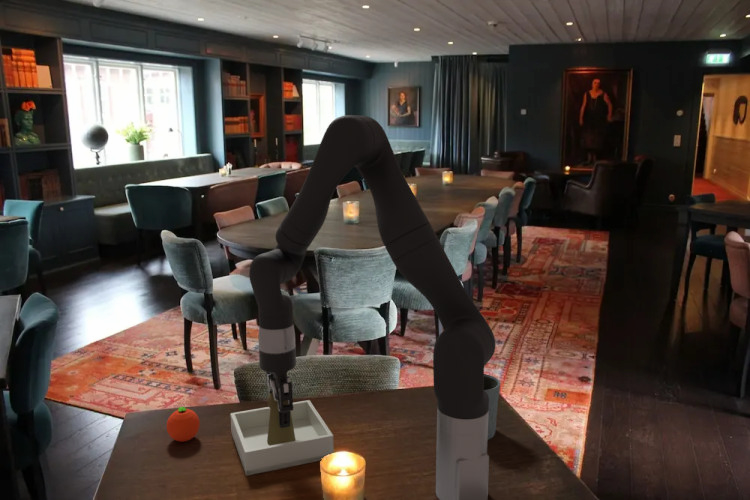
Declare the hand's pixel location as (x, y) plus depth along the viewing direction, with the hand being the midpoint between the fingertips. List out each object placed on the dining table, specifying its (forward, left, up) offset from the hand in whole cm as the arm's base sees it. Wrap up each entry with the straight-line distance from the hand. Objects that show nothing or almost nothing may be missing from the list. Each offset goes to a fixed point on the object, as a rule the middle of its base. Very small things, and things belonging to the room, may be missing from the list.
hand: (279, 417), depth 133 cm
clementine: (+11, +19, -7) cm, 23 cm away
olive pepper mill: (0, 0, -6) cm, 6 cm away
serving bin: (0, 0, -6) cm, 6 cm away
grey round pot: (-10, -42, -7) cm, 44 cm away
